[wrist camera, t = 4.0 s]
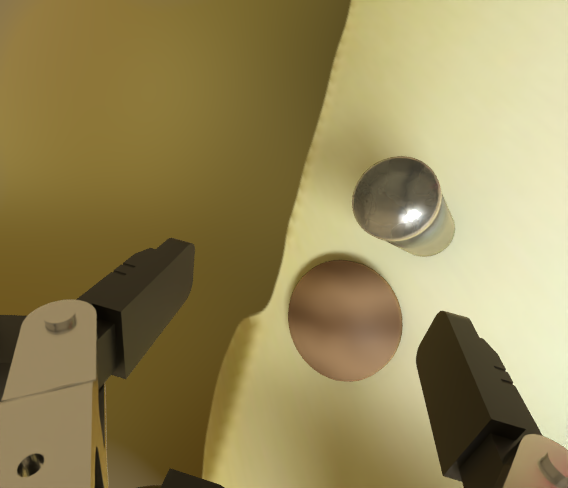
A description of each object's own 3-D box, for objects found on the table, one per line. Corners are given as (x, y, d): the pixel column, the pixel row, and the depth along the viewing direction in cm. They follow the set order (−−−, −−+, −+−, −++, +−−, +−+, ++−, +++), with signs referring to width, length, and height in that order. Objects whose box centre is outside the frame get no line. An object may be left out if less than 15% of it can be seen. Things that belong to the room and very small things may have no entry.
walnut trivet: (290, 267, 37) (285, 266, 36) (394, 254, 31) (391, 252, 30) (297, 374, 35) (291, 376, 34) (410, 383, 29) (407, 386, 28)
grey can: (391, 208, 32) (348, 169, 22) (451, 196, 29) (433, 145, 19) (398, 260, 31) (356, 245, 21) (460, 253, 28) (447, 232, 18)
